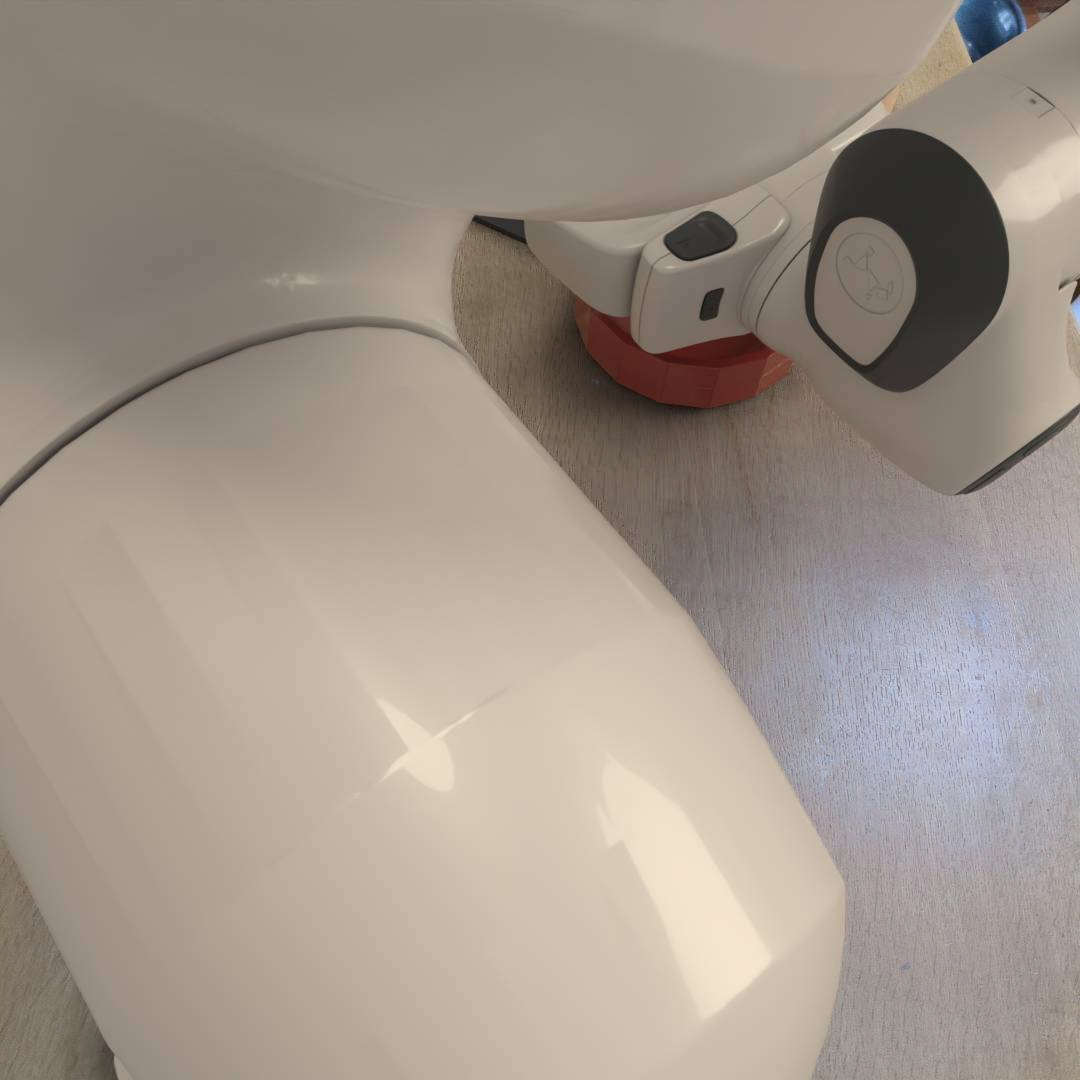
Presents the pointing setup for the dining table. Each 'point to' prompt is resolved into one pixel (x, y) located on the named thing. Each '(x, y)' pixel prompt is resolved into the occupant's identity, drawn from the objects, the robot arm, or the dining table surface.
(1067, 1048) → the dining table surface
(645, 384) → the red bowl
